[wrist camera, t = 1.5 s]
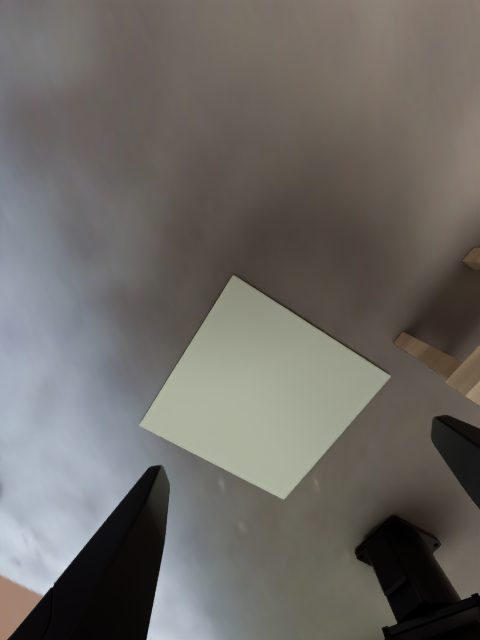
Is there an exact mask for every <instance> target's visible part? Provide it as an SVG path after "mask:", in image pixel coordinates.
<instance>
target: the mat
mask: <svg viewBox="0 0 480 640" xmlns="http://www.w3.org/2000/svg"><path fill="white" fill-rule="evenodd" d="M390 377H391V376H390V375H389V374H387V373H386V372H384V371H383V370H381V369H380V368H378V367H377V366H375V365H373V364H372V363H370V362H369V361H367V360H366V359H364V358H363V357H361V356H359V355H358V354H356V353H355V352H353V351H352V350H350V349H349V348H347V347H345V346H344V345H342V344H341V343H339V342H338V341H336V340H335V339H333V338H331V337H330V336H328V335H327V334H325V333H324V332H322V331H320V330H319V329H317V328H316V327H314V326H313V325H311V324H310V323H308V322H306V321H305V320H303V319H302V318H300V317H299V316H297V315H296V314H294V313H292V312H291V311H289V310H288V309H286V308H285V307H283V306H282V305H280V304H278V303H277V302H275V301H274V300H272V299H271V298H269V297H268V296H266V295H264V294H263V293H261V292H260V291H258V290H257V289H255V288H253V287H252V286H250V285H249V284H247V283H246V282H244V281H243V280H241V279H239V278H238V277H236V276H235V275H233V276H232V277H231V279H230V281H229V282H228V284H227V285H226V287H225V289H224V290H223V292H222V293H221V295H220V297H219V298H218V300H217V301H216V303H215V305H214V306H213V308H212V309H211V311H210V313H209V314H208V316H207V317H206V319H205V321H204V322H203V324H202V325H201V327H200V329H199V330H198V332H197V333H196V335H195V337H194V338H193V340H192V341H191V343H190V345H189V346H188V348H187V349H186V351H185V353H184V354H183V356H182V357H181V359H180V361H179V362H178V364H177V365H176V367H175V369H174V370H173V372H172V373H171V375H170V377H169V378H168V380H167V381H166V383H165V385H164V386H163V388H162V389H161V391H160V393H159V394H158V396H157V397H156V399H155V401H154V402H153V404H152V405H151V407H150V409H149V410H148V412H147V413H146V415H145V417H144V418H143V420H142V421H141V423H140V425H139V426H141V427H143V428H145V429H147V430H149V431H151V432H153V433H155V434H157V435H159V436H161V437H162V438H164V439H166V440H168V441H170V442H172V443H174V444H176V445H178V446H180V447H182V448H184V449H186V450H188V451H190V452H192V453H194V454H196V455H198V456H200V457H201V458H203V459H205V460H207V461H209V462H211V463H213V464H215V465H217V466H219V467H221V468H223V469H225V470H227V471H229V472H231V473H233V474H235V475H237V476H238V477H240V478H242V479H244V480H246V481H248V482H250V483H252V484H254V485H256V486H258V487H260V488H262V489H264V490H266V491H268V492H270V493H272V494H274V495H276V496H277V497H279V498H281V499H283V500H284V499H285V498H286V497H287V496H288V494H289V493H290V492H291V491H292V490H293V489H294V488H295V486H296V485H297V484H298V483H299V482H300V481H301V479H302V478H303V477H304V476H305V475H306V474H307V473H308V471H309V470H310V469H311V468H312V467H313V466H314V465H315V463H316V462H317V461H318V460H319V459H320V458H321V457H322V455H323V454H324V453H325V452H326V451H327V450H328V448H329V447H330V446H331V445H332V444H333V443H334V442H335V440H336V439H337V438H338V437H339V436H340V435H341V434H342V432H343V431H344V430H345V429H346V428H347V427H348V426H349V424H350V423H351V422H352V421H353V420H354V419H355V417H356V416H357V415H358V414H359V413H360V412H361V411H362V409H363V408H364V407H365V406H366V405H367V404H368V403H369V401H370V400H371V399H372V398H373V397H374V396H375V394H376V393H377V392H378V391H379V390H380V389H381V388H382V386H383V385H384V384H385V383H386V382H387V381H388V380H389V378H390Z"/></svg>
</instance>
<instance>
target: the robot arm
mask: <svg viewBox="0 0 480 640" xmlns="http://www.w3.org/2000/svg"><path fill="white" fill-rule="evenodd" d="M431 439H432V442H433V444H434V446H435V447H436V449H437V450H438V452H439V453H440V454H441V456H442V457H443V459H444V460H445V462H446V463H447V465H448V466H449V468H450V469H451V471H452V472H453V474H454V475H455V477H456V478H457V480H458V481H459V482H460V484H461V485H462V487H463V488H464V490H465V491H466V492H467V494H468V495H469V496H470V498H471V499H472V500H473V501H474V503H475V504H476V505H477V506H478V508H479V509H480V429H479V428H477V427H475V426H472V425H470V424H468V423H465V422H463V421H461V420H458V419H456V418H453V417H451V416H448V415H442V416H436V417H434V418H433V419H432V428H431ZM169 493H170V484H169V480H168V478H167V475H166V472H165V469H164V467H163V466H162V465H156V466H151V467H149V468H148V469H147V470H146V472H145V473H144V474H143V475H142V477H141V478H140V479H139V480H138V481H137V483H136V484H135V485H134V486H133V488H132V489H131V490H130V491H129V492H128V494H127V495H126V496H125V497H124V499H123V500H122V501H121V502H120V504H119V505H118V506H117V507H116V508H115V510H114V511H113V512H112V513H111V515H110V516H109V517H108V518H107V519H106V521H105V522H104V523H103V524H102V526H101V527H100V528H99V529H98V531H97V532H96V533H95V534H94V535H93V537H92V538H91V539H90V540H89V542H88V543H87V544H86V545H85V546H84V548H83V549H82V550H81V551H80V553H79V554H78V555H77V556H76V558H75V559H74V560H73V561H72V562H71V564H70V565H69V566H68V567H67V569H66V570H65V571H64V572H63V573H62V575H61V576H60V577H59V578H58V580H57V581H56V582H55V583H54V586H53V587H51V588H50V589H49V590H48V592H47V593H46V594H45V595H44V597H43V598H42V599H41V600H40V602H39V603H38V604H37V605H36V606H35V608H34V609H33V610H32V611H31V612H30V614H29V615H28V616H27V617H26V618H25V620H24V621H23V622H22V623H21V624H20V626H19V627H18V628H17V629H16V630H15V631H14V633H13V634H12V635H11V636H10V637H9V638H8V639H7V640H146V639H147V634H148V628H149V623H150V618H151V613H152V607H153V602H154V597H155V592H156V586H157V581H158V576H159V571H160V565H161V560H162V555H163V549H164V543H165V534H166V524H167V514H168V503H169ZM440 546H441V543H440V542H439V540H438V539H437V538H436V537H434V536H432V535H430V534H428V533H426V532H425V531H423V530H421V529H419V528H417V527H415V526H413V525H412V524H410V523H408V522H406V521H404V520H402V519H401V518H399V517H397V516H393V517H391V518H390V519H388V520H387V521H386V522H385V523H384V524H383V525H382V526H381V527H380V528H379V529H378V530H377V531H376V532H375V533H374V534H373V535H372V536H371V537H370V538H369V539H368V540H367V541H366V542H365V543H364V544H363V545H362V546H361V547H360V548H359V549H358V550H357V551H356V552H355V554H356V557H357V559H358V560H360V561H362V562H364V563H366V564H368V565H370V566H372V567H373V569H374V571H375V574H376V576H377V579H378V581H379V583H380V586H381V588H382V591H383V593H384V595H385V596H386V597H387V600H388V602H389V605H390V607H391V609H392V612H393V614H394V616H395V619H396V621H397V624H396V625H393V626H390V627H388V626H385V627H383V628H382V631H383V634H384V637H385V640H480V596H479V595H478V593H475V594H472V595H471V596H472V597H469V598H466V599H464V600H461V598H460V597H459V595H458V594H457V592H456V590H455V589H454V587H453V586H452V584H451V583H450V581H449V579H448V578H447V576H446V575H445V573H444V571H443V570H442V568H441V567H440V565H439V563H438V562H437V560H436V559H435V557H434V556H433V554H432V553H433V552H434V551H436V550H437V549H438V548H439V547H440Z"/></svg>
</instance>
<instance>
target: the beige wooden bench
mask: <svg viewBox="0 0 480 640" xmlns="http://www.w3.org/2000/svg"><path fill="white" fill-rule="evenodd" d="M462 262H464V263H465V264H466V265H468V266H469V267H470V268H472V269H473V270H480V248H473V249H472V250H471V251H470V252H469V254H468V255H467V256H466V257H465V258H464V259H463V261H462ZM394 344H395V345H397V346H398V347H400V348H401V349H403V350H404V351H406V352H407V353H409V354H411V355H412V356H414V357H415V358H417V359H419V360H420V361H422V362H423V363H425V364H427V365H428V367H430V368H431V369H433V370H434V371H436V372H437V373H439V374H440V375H442V376H443V377H445V378H447V380H446V381H445V382H444V383H446V384H447V385H449V386H450V387H452V388H453V389H455V390H456V391H458V392H459V393H461V394H462V395H464V396H465V397H467V398H468V399H470V400H471V401H473V402H474V403H476V404H477V405H479V406H480V345H479V346H478V347H477V348H476V349H475V350H474V352H473V353H472V354H471V355H470V356H469V357H468V358H467V359H466V360H465V361H464V362H461V361H459V360H457V359H455V358H453V357H451V356H449V355H447V354H445V353H443V352H441V351H439V350H438V349H436V348H434V347H432V346H430V345H428V344H426V343H424V342H422V341H420V340H418V339H416V338H414V337H412V336H410V335H408V334H406V333H404V332H402V333H401V334H400V336H399V337H398V338H397V339H396V340H395V341H394Z"/></svg>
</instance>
